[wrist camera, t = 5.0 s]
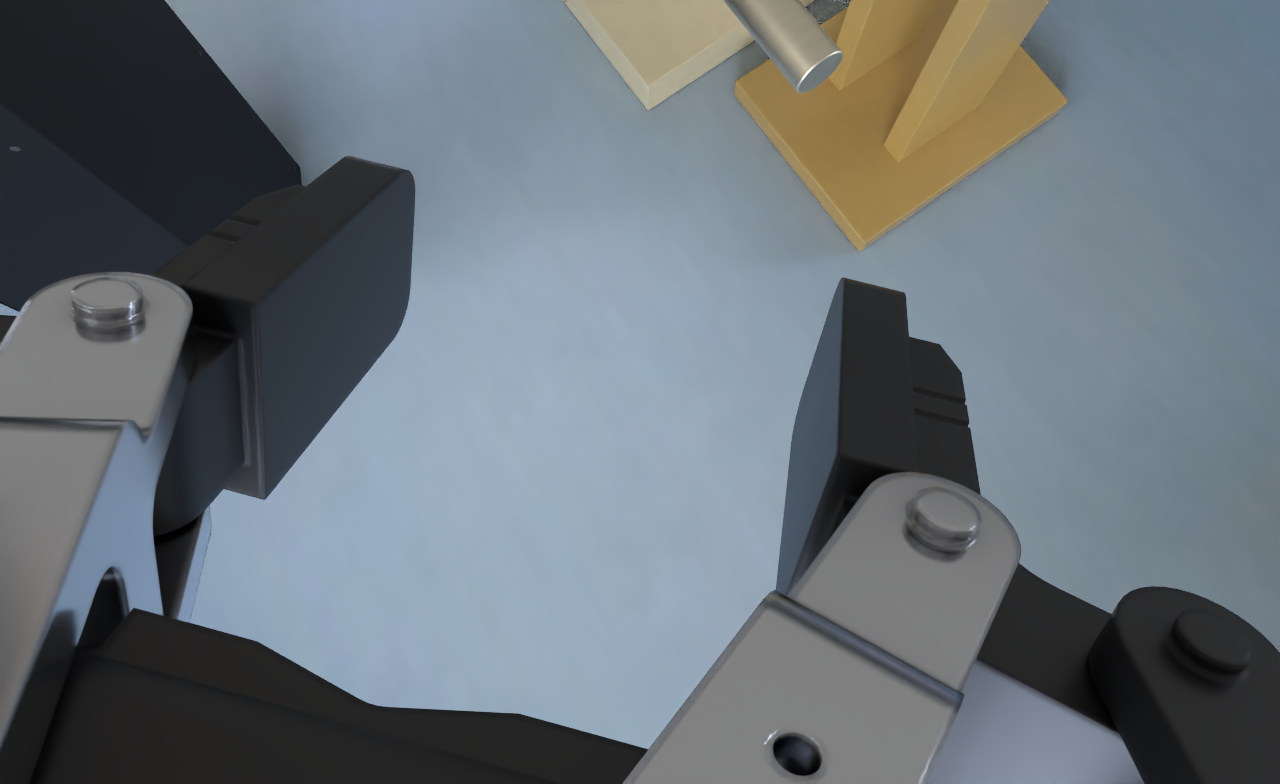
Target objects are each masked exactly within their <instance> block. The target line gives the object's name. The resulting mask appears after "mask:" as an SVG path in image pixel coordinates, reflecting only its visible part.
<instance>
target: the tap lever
mask: <svg viewBox="0 0 1280 784" xmlns="http://www.w3.org/2000/svg"><path fill="white" fill-rule="evenodd" d="M723 1H724V2H725V3H726V5H727V6H728V7H729V8H730V9H731V11H732V12H733V13H734V14H735V16H736V17H737V18H738V19H739V21H740V22H741V23H742V24H743V26H744V27H745V28H746V29H747V31H748V32H749V33H750V34H751V35H752V37H753V38H754V39H755V40H756V42H757V43H758V44H759V45H760V47H761V48H762V49H763V50H764V52H765V53H766V54H767V55H768V56H769V58H770V59H771V60H772V61H773V63H774V64H775V65H776V66H777V68H778V69H779V70H780V71H781V73H782V74H783V75H784V76H785V78H786V79H787V80H788V81H789V82H790V84H791V85H792V86H793V87H794V89H795V90H796V91H797V92H798V93H806V92H808V91H810V90H812V89H814V88H815V87H817V86H818V85H820V84H821V83H822V82H823V81H825V80H826V79H827V78H828V77H829V76H830V75H831V74H832V73H833V72H834V71H835V69H836V68H837V67H838V65H839V64H840V62H841V61H842V58H843V53H842V51H841V50H840V49H839V47H838V46H837V45H836V44H835V42H834V41H833V40H832V39H831V38H830V36H829V35H828V34H827V33H826V32H825V30H824V29H823V28H822V27H821V26H820V24H819V23H818V22H817V21H816V19H815V18H814V17H813V16H812V15H811V13H810V12H809V11H808V10H807V9H806V7H805V6H804V5H803V4H802V3H801V1H800V0H723Z"/></svg>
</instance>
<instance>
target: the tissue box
mask: <svg viewBox="0 0 1280 784" xmlns="http://www.w3.org/2000/svg"><path fill="white" fill-rule="evenodd" d="M293 185H301V173H300V167H299V166H298V164H297V163H296V162H295V161H294V159H293V158H292V157H291V156H290V154H289V153H288V152H287V151H286V150H285V148H284V147H283V146H282V145H281V143H280V142H279V141H278V140H277V138H276V137H275V136H274V135H273V133H272V132H271V131H270V130H269V129H268V127H267V126H266V125H265V124H264V122H263V121H262V120H261V119H260V117H259V116H258V115H257V114H256V113H255V111H254V110H253V109H252V108H251V106H250V105H249V104H248V103H247V101H246V100H245V99H244V98H243V96H242V95H241V94H240V93H239V92H238V90H237V89H236V88H235V87H234V85H233V84H232V83H231V82H230V80H229V79H228V78H227V77H226V75H225V74H224V73H223V72H222V71H221V69H220V68H219V67H218V66H217V64H216V63H215V62H214V61H213V59H212V58H211V57H210V56H209V55H208V53H207V52H206V51H205V50H204V48H203V47H202V46H201V45H200V43H199V42H198V41H197V40H196V38H195V37H194V36H193V35H192V34H191V32H190V31H189V30H188V29H187V27H186V26H185V25H184V24H183V22H182V21H181V20H180V19H179V17H178V16H177V15H176V14H175V13H174V11H173V10H172V9H171V8H170V6H169V5H168V4H167V3H166V1H165V0H0V303H1V304H3V305H5V306H8V307H10V308H12V309H14V310H16V311H19V312H20V310H21V309H22V307H23V306H24V304H25V303H26V302H27V300H28V299H29V298H30V297H31V296H32V295H34V294H35V293H36V292H37V291H39V290H41V289H43V288H44V287H46V286H48V285H51V284H53V283H55V282H58V281H61V280H64V279H67V278H71V277H75V276H80V275H84V274H92V273H101V272H130V273H139V274H145V275H151V274H153V273H154V272H155V271H157V270H158V269H159V268H161V267H162V266H164V265H165V264H166V263H168V262H169V261H170V260H172V259H173V258H174V257H176V256H177V255H179V254H180V253H181V252H183V251H184V250H185V249H187V248H188V247H189V246H191V245H192V244H193V243H195V242H196V241H198V240H199V239H200V238H202V237H203V236H204V235H210V234H211V230H213V229H214V228H215V227H217V226H218V225H219V224H221V223H222V222H223V221H225V220H226V219H229V220H231V219H232V215H233V214H234V213H236V212H237V211H238V210H240V209H241V208H242V207H244V206H245V205H247V204H248V203H249V202H251V201H252V200H253V199H255V198H256V197H257V196H261V195H264V194H267V193H270V192H273V191H277V190H280V189H283V188H286V187H290V186H293Z"/></svg>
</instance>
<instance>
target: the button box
mask: <svg viewBox="0 0 1280 784" xmlns="http://www.w3.org/2000/svg"><path fill="white" fill-rule="evenodd" d="M800 1H801V3H802V4H803V5H804V6H805V7H807V6H808V5H810V4H811V3H813V2H814V1H816V0H800ZM563 2H564V3H565V4H566V5H567V7H568V8H569V9H570V11H571V12H572V13H573V14H574V16H575V17H576V18H577V20H578V21H579V22H580V24H581V25H582V26H583V27H584V29H585V30H586V31H587V33H588V34H589V35H590V36H591V38H592V39H593V40H594V42H595V43H596V44H597V46H598V47H599V48H600V49H601V51H602V52H603V53H604V55H605V56H606V57H607V59H608V60H609V61H610V62H611V64H612V65H613V66H614V68H615V69H616V70H617V71H618V73H619V74H620V75H621V77H622V78H623V79H624V81H625V82H626V83H627V84H628V86H629V87H630V88H631V90H632V91H633V92H634V93H635V95H636V96H637V97H638V99H639V100H640V101H641V103H642V104H643V105H644V106H645V108H646V109H647V110H648V111H649V110H650V109H652V108H653V107H655V106H656V105H658V104H659V103H661V102H663V101H664V100H666V99H667V98H669V97H670V96H672V95H673V94H675V93H676V92H678V91H679V90H681V89H682V88H684V87H685V86H687V85H688V84H690V83H691V82H693V81H694V80H696V79H697V78H699V77H700V76H702V75H703V74H705V73H706V72H708V71H710V70H711V69H713V68H714V67H716V66H717V65H719V64H720V63H722V62H723V61H725V60H726V59H728V58H729V57H731V56H732V55H734V54H735V53H737V52H738V51H740V50H741V49H743V48H744V47H746V46H747V45H749V44H750V43H752V42H753V41H755V39H754V38H753V37H752V35H751V34H750V33H749V32H748V31H747V29H746V28H745V27H744V26H743V24H742V23H741V22H740V21H739V19H738V18H737V17H736V16H735V14H734V13H733V12H732V11H731V9H730V8H729V7H728V6H727V5H726V3H725V2H724V1H723V0H563Z"/></svg>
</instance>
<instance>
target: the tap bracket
mask: <svg viewBox="0 0 1280 784" xmlns="http://www.w3.org/2000/svg"><path fill="white" fill-rule="evenodd" d="M1049 1H1050V0H850V3H849V6H848V7H847V8H845V9H844V10H842V11H841V12H839V13H838V14H836V15H835V16H833V17H832V18H830V19H829V20H827V21H826V22H824V23H823V24H821V25H820V26H821V27H822V28H823V29H824V30H825V32H826V33H827V34H828V35H829V36H830V38H831V39H832V40H833V41H834V42H835V44H836V45H837V46H838V47H839V49H840V50H841V51H842V53H843V58H842V61H841V62H840V64H839V65H838V67H837V68H836V69H835V71H834V72H833V73H832V74H831V75H830V76H829V77H828V78H827V79H826V80H825V81H823V82H822V83H821V84H820V85H818V86H817V87H815V88H814V89H812V90H810V91H808V92H806V93H798V92H797V91H796V90H795V89H794V87H793V86H792V85H791V84H790V82H789V81H788V80H787V79H786V78H785V76H784V75H783V74H782V73H781V71H780V70H779V69H778V68H777V66H776V65H775V64H774V63H773V61H772V60H771V59H768V60H767V61H765V62H764V63H762V64H761V65H759V66H758V67H756V68H755V69H753V70H752V71H750V72H749V73H747V74H746V75H744V76H743V77H741V78H740V79H738V80H737V81H736V83H735V89H734V96H735V97H736V98H737V99H738V101H739V102H740V103H741V104H742V106H743V107H744V108H745V109H746V111H747V112H748V113H749V114H750V116H751V117H752V118H753V120H754V121H755V122H756V123H757V125H758V126H759V127H760V128H761V130H762V131H763V132H764V133H765V135H766V136H767V137H768V138H769V140H770V141H771V142H772V143H773V145H774V146H775V147H776V148H777V150H778V151H779V152H780V154H781V155H782V156H783V157H784V159H785V160H786V161H787V162H788V164H789V165H790V166H791V167H792V169H793V170H794V171H795V172H796V174H797V175H798V176H799V177H800V179H801V180H802V181H803V182H804V184H805V185H806V186H807V188H808V189H809V190H810V191H811V193H812V194H813V195H814V196H815V198H816V199H817V200H818V201H819V203H820V204H821V205H822V206H823V208H824V209H825V210H826V211H827V213H828V214H829V215H830V216H831V218H832V219H833V220H834V222H835V223H836V224H837V225H838V227H839V228H840V229H841V230H842V232H843V233H844V234H845V235H846V237H847V238H848V239H849V240H850V242H851V243H852V244H853V245H854V247H855V248H856V249H857V250H858V251H859V252H860V251H862V250H863V249H865V248H866V247H868V246H869V245H870V244H872V243H873V242H875V241H876V240H878V239H879V238H880V237H882V236H883V235H885V234H886V233H888V232H889V231H890V230H892V229H893V228H895V227H896V226H898V225H899V224H900V223H902V222H903V221H905V220H906V219H908V218H909V217H911V216H912V215H913V214H915V213H916V212H918V211H919V210H921V209H922V208H923V207H925V206H926V205H928V204H929V203H931V202H932V201H933V200H935V199H936V198H938V197H939V196H941V195H942V194H943V193H945V192H946V191H948V190H949V189H951V188H952V187H953V186H955V185H956V184H958V183H959V182H961V181H962V180H964V179H965V178H966V177H968V176H969V175H971V174H972V173H974V172H975V171H976V170H978V169H979V168H981V167H982V166H984V165H985V164H986V163H988V162H989V161H991V160H992V159H994V158H995V157H996V156H998V155H999V154H1001V153H1002V152H1004V151H1005V150H1006V149H1008V148H1009V147H1011V146H1012V145H1014V144H1015V143H1017V142H1018V141H1019V140H1021V139H1022V138H1024V137H1025V136H1027V135H1028V134H1029V133H1031V132H1032V131H1034V130H1035V129H1037V128H1038V127H1039V126H1041V125H1042V124H1044V123H1045V122H1047V121H1048V120H1049V119H1051V118H1052V117H1054V116H1055V115H1057V114H1058V113H1059V111H1060V110H1061V109H1062V108H1063V107H1064V106H1065V104H1066V103H1067V102H1068V100H1067V98H1066V97H1065V96H1064V95H1063V94H1062V93H1061V92H1060V90H1059V89H1058V88H1057V87H1056V86H1055V85H1054V83H1053V82H1052V81H1051V80H1050V79H1049V78H1048V77H1047V75H1046V74H1045V73H1044V72H1043V71H1042V70H1041V69H1040V67H1039V66H1038V65H1037V64H1036V63H1035V62H1034V60H1033V59H1032V58H1031V57H1030V56H1029V55H1028V54H1027V52H1026V51H1025V50H1024V49H1023V48H1022V47H1021V45H1020V44H1021V43H1022V41H1023V40H1024V38H1025V37H1026V35H1027V34H1028V32H1029V31H1030V29H1031V28H1032V26H1033V25H1034V23H1035V22H1036V20H1037V19H1038V17H1039V16H1040V14H1041V13H1042V11H1043V10H1044V8H1045V7H1046V5H1047V4H1048V2H1049Z"/></svg>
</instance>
